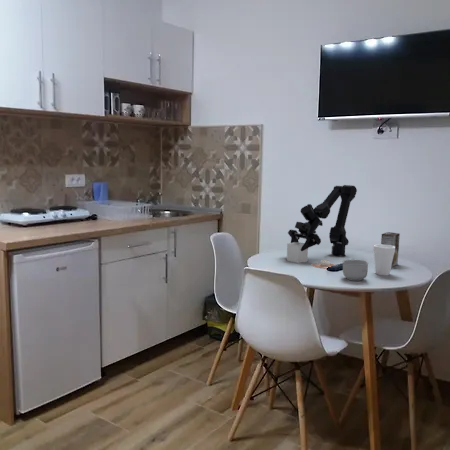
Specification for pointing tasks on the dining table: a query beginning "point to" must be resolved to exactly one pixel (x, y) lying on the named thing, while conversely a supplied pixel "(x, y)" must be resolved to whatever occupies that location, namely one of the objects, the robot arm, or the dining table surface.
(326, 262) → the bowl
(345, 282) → the dining table surface
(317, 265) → the plate
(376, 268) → the foam cup
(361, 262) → the teacup
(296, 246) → the white block
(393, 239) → the coffee box
